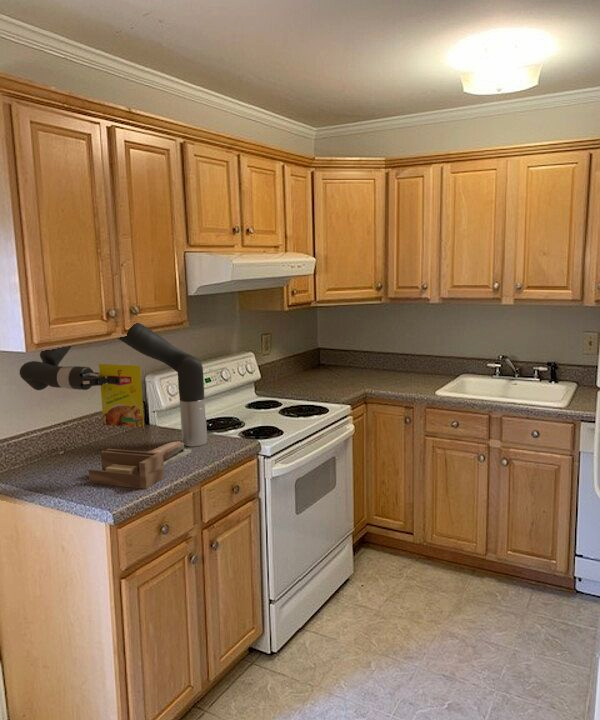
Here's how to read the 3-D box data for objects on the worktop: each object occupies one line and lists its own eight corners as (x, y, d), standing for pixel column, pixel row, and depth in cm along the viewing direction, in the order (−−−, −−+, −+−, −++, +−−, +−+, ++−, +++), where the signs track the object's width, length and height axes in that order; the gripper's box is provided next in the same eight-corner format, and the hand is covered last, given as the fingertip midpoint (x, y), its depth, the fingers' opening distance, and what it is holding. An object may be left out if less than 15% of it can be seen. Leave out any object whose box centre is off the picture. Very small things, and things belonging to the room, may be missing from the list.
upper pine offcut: (114, 471, 190) (113, 464, 190) (137, 473, 187) (137, 466, 187) (106, 475, 186) (105, 468, 186) (130, 478, 184) (129, 470, 183)
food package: (102, 425, 191) (97, 364, 188) (104, 424, 192) (100, 363, 189) (143, 428, 186) (139, 365, 183) (145, 427, 187) (141, 365, 184)
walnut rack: (109, 471, 196) (107, 448, 195) (164, 477, 189) (162, 453, 188) (89, 482, 187) (87, 458, 185) (146, 488, 180) (144, 463, 178)
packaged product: (161, 455, 198) (137, 452, 202) (162, 469, 198) (138, 466, 202) (191, 440, 214) (168, 438, 218) (192, 453, 215) (169, 451, 219)
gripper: (59, 370, 186) (105, 372, 180) (88, 363, 198) (132, 364, 192) (61, 393, 187) (107, 396, 181) (90, 385, 199) (133, 387, 194)
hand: (120, 380), depth 187 cm, fingers closed on food package, 1 cm apart
